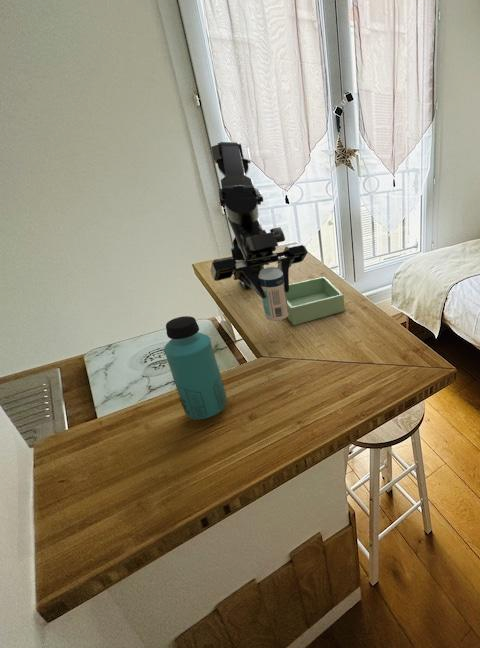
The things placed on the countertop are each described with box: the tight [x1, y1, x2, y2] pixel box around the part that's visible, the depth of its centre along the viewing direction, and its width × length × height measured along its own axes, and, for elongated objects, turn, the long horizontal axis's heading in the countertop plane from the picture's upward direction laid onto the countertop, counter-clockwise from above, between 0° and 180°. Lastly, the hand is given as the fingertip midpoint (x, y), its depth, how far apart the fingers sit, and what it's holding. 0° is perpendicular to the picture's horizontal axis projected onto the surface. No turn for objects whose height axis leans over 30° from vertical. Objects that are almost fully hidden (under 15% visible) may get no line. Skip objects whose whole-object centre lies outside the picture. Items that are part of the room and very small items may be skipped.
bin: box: [286, 276, 345, 326], centre depth 107 cm, size 13×13×5 cm
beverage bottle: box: [163, 315, 228, 420], centre depth 68 cm, size 6×7×20 cm
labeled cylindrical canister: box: [258, 266, 289, 322], centre depth 89 cm, size 5×5×12 cm
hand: (276, 294), depth 88 cm, fingers closed on labeled cylindrical canister, 5 cm apart
